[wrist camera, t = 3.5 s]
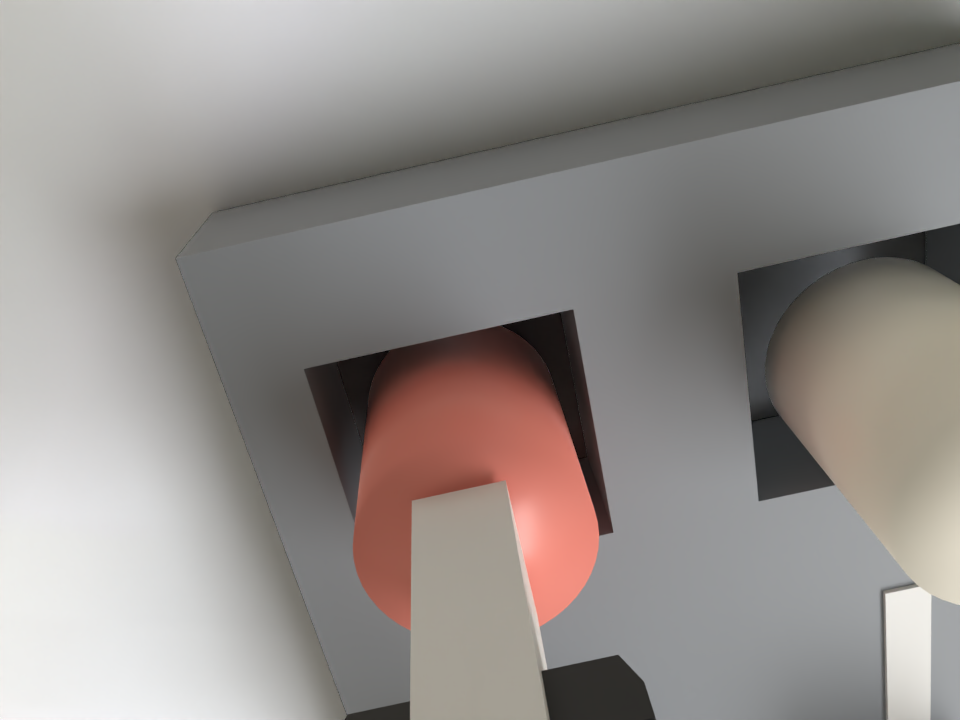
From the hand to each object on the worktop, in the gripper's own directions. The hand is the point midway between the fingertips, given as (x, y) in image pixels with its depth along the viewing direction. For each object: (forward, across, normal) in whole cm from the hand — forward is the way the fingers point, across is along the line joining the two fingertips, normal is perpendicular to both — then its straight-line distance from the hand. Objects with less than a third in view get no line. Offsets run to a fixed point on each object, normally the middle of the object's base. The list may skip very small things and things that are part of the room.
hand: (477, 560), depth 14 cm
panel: (+6, +4, -5) cm, 9 cm away
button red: (+5, 0, 0) cm, 5 cm away
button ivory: (+4, +8, 0) cm, 9 cm away
